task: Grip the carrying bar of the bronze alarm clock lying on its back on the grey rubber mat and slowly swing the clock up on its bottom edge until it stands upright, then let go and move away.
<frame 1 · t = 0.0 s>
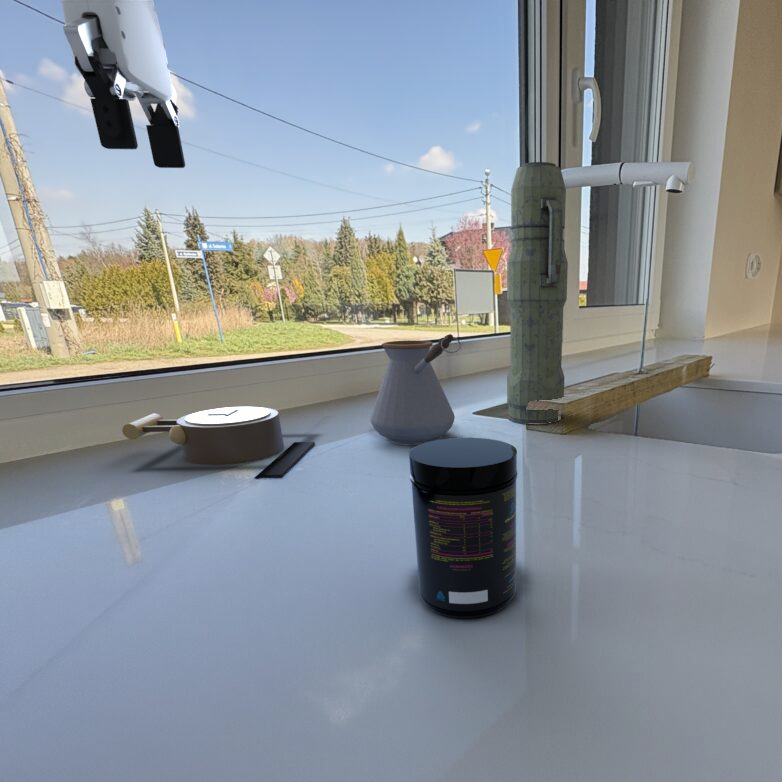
hand: (147, 158, 60), 32 cm above the worktop, tool pointing down, fingers open, 9 cm apart
supplement container: (468, 598, 39), on the worktop
coffee pot: (426, 448, 75), on the worktop
clock: (209, 436, 68), point 3 cm above the worktop, hinge at -0.1°
thermos: (534, 419, 91), on the worktop
mat: (237, 460, 69), on the worktop
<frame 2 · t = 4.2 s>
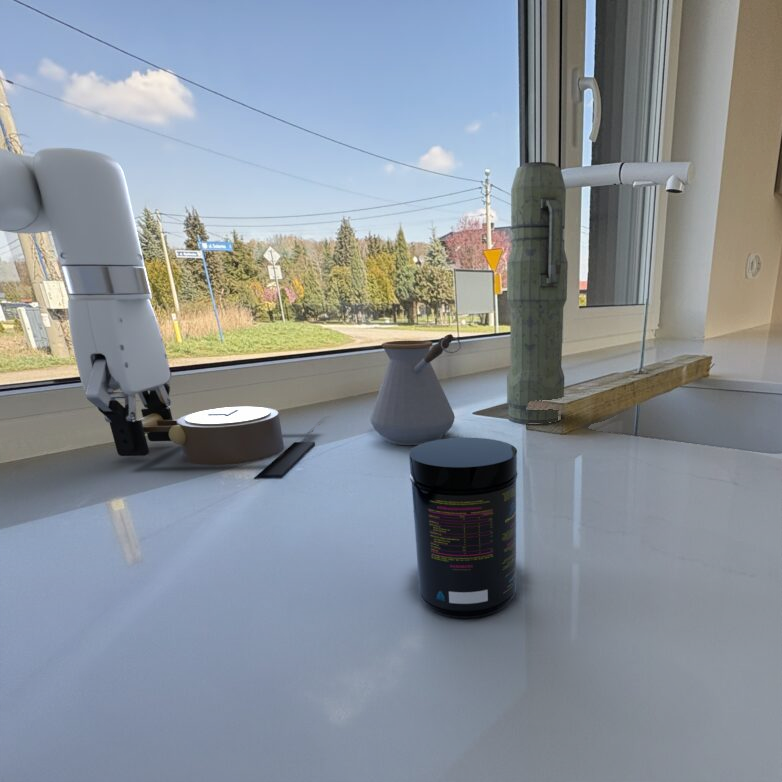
hand: (148, 446, 68), 2 cm above the worktop, tool pointing down, fingers closed on clock, 5 cm apart
clock: (209, 436, 68), point 3 cm above the worktop, hinge at -0.1°, touching gripper
everything else where it was.
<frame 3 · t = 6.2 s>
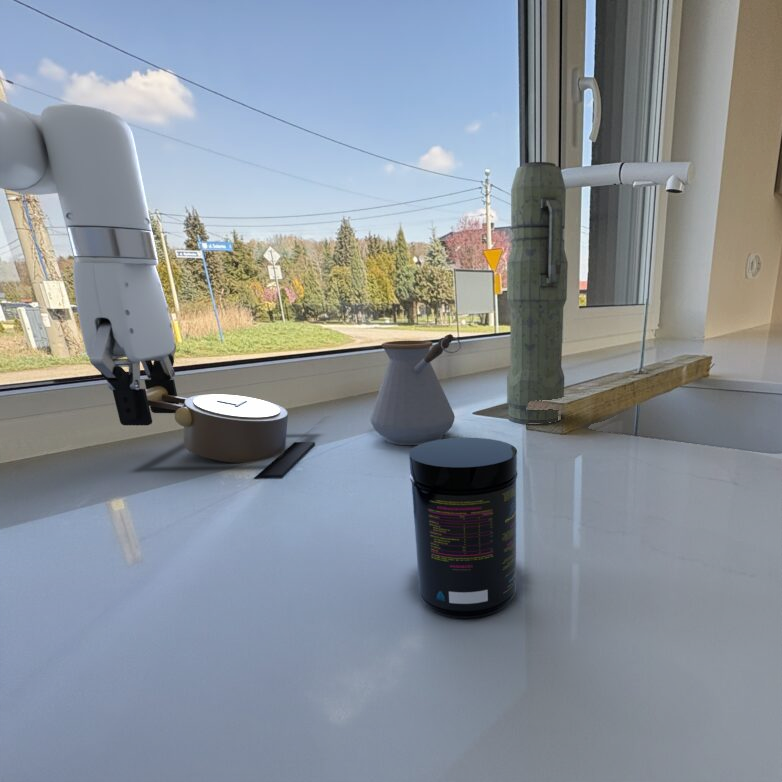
hand: (151, 416, 67), 6 cm above the worktop, tool pointing down, fingers closed on clock, 5 cm apart
clock: (213, 421, 67), point 5 cm above the worktop, hinge at 12.6°, touching gripper
everything else where it was.
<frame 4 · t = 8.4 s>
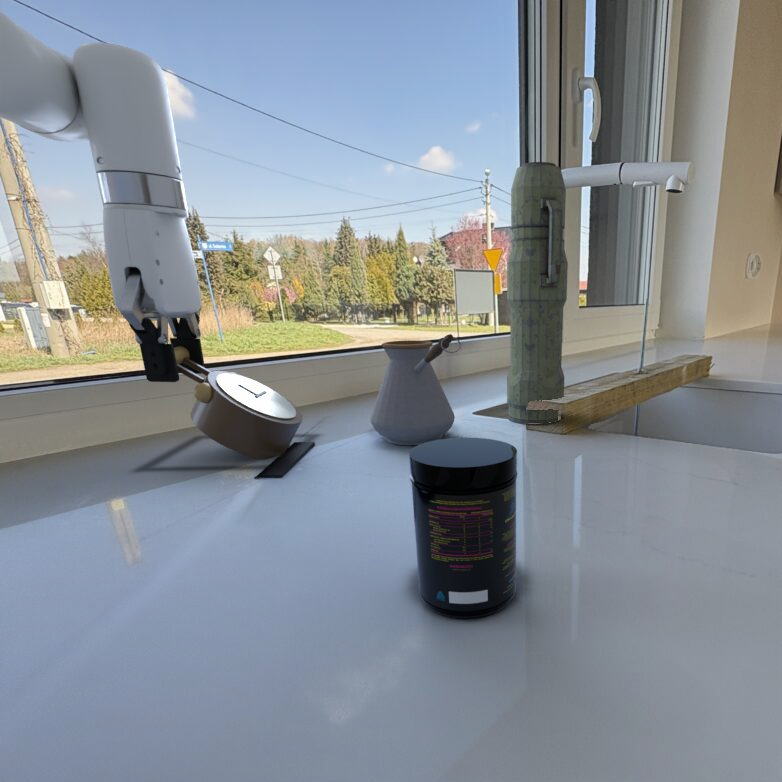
hand: (177, 375, 65), 10 cm above the worktop, tool pointing down, fingers closed on clock, 5 cm apart
clock: (227, 401, 66), point 7 cm above the worktop, hinge at 33.2°, touching gripper
everything else where it was.
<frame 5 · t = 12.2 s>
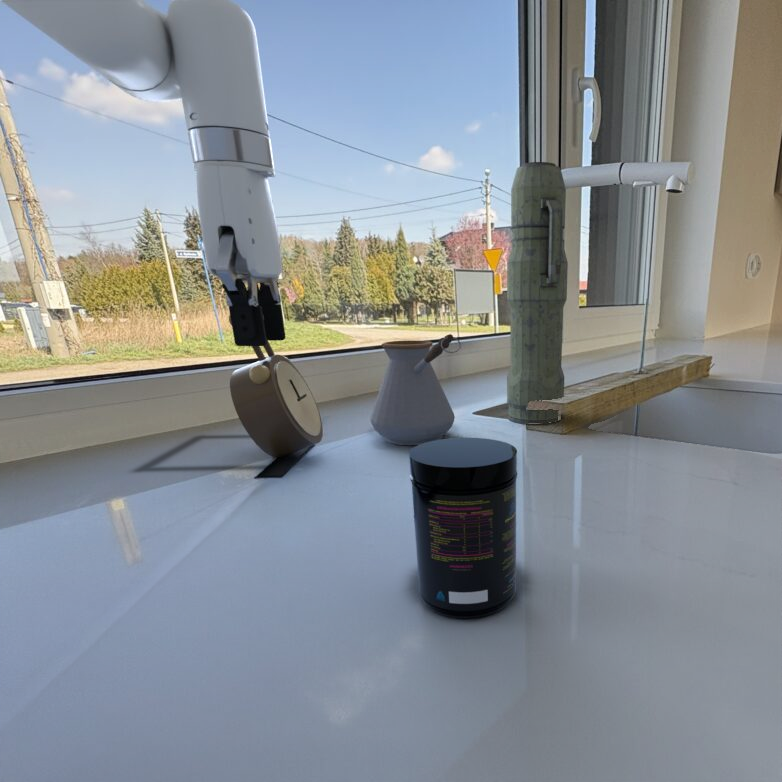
hand: (261, 341, 64), 14 cm above the worktop, tool pointing down, fingers closed on clock, 5 cm apart
clock: (268, 384, 66), point 9 cm above the worktop, hinge at 70.0°, touching gripper
everything else where it was.
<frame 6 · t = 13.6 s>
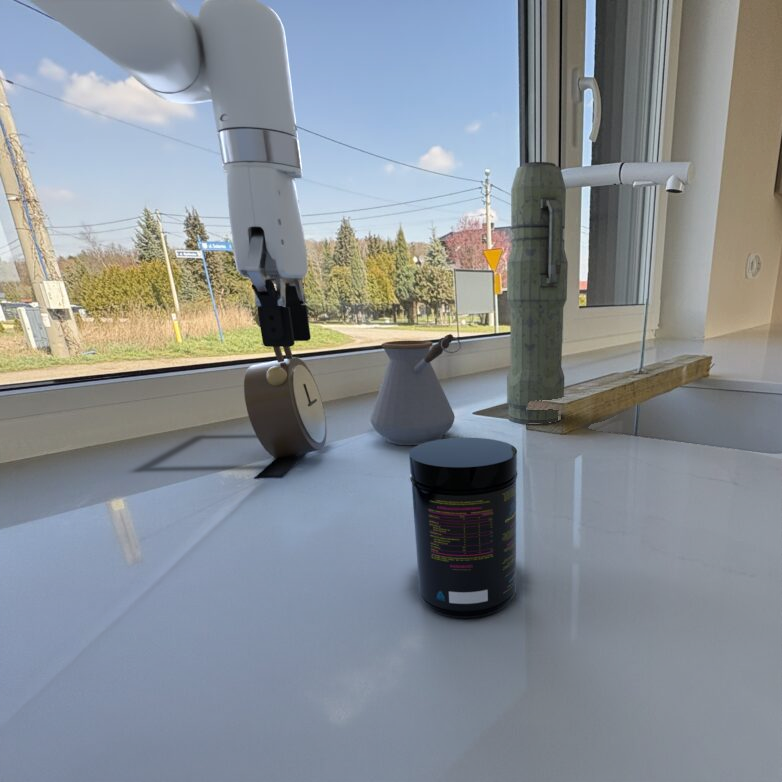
hand: (288, 341, 64), 14 cm above the worktop, tool pointing down, fingers closed on clock, 5 cm apart
clock: (282, 385, 66), point 9 cm above the worktop, hinge at 79.9°, touching gripper
everything else where it was.
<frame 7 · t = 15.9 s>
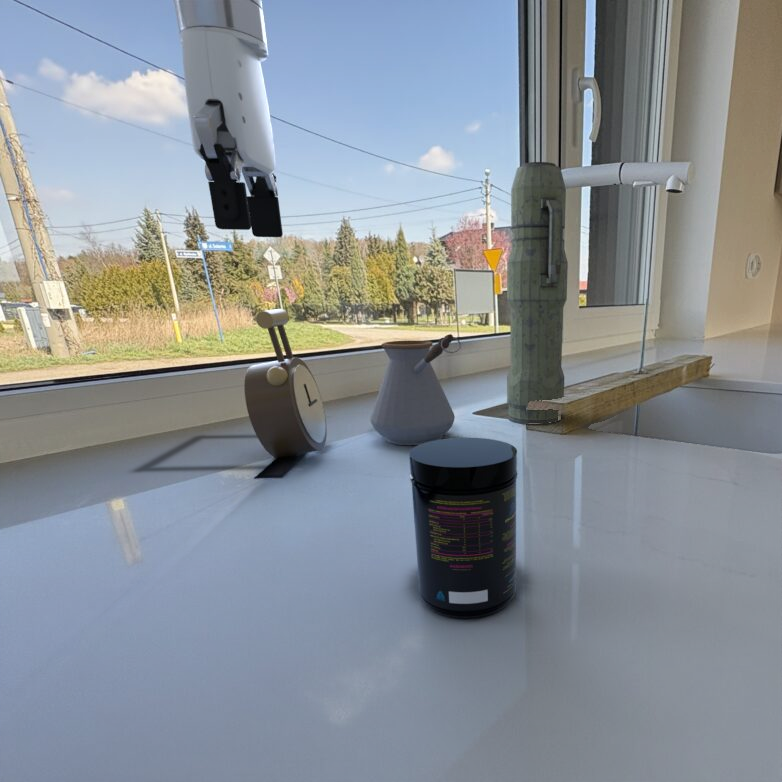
hand: (252, 233, 60), 25 cm above the worktop, tool pointing down, fingers open, 9 cm apart
clock: (282, 385, 66), point 9 cm above the worktop, hinge at 80.2°
everything else where it was.
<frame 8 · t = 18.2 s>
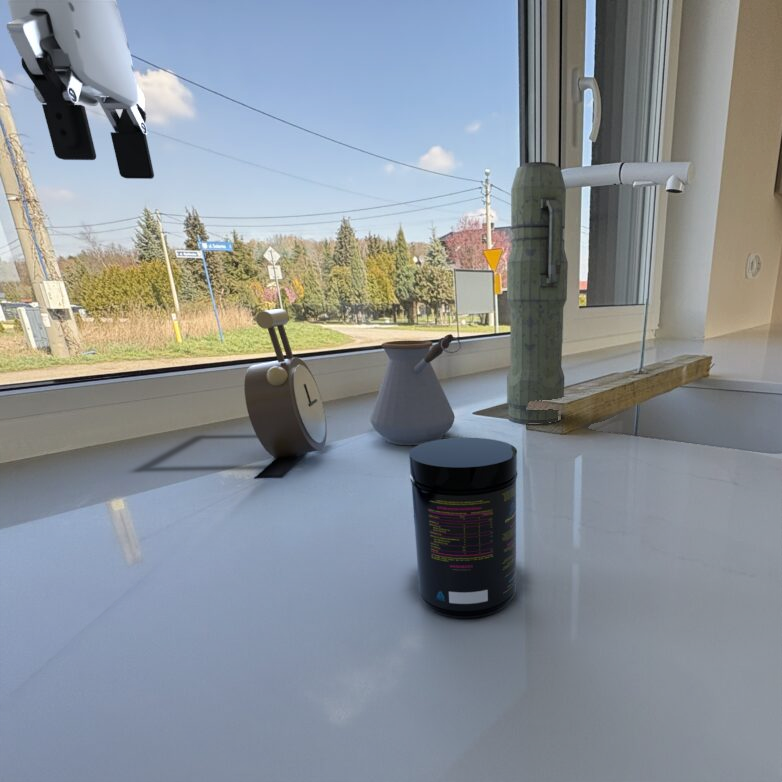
hand: (109, 169, 55), 30 cm above the worktop, tool pointing down, fingers open, 9 cm apart
nothing on the worktop moved.
at the end: clock at +80° (first picture: +0°); the gripper is holding nothing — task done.
